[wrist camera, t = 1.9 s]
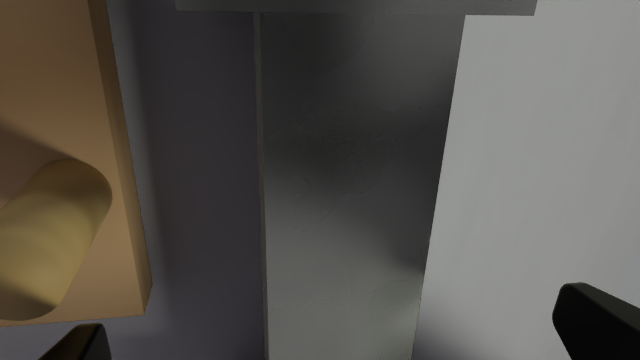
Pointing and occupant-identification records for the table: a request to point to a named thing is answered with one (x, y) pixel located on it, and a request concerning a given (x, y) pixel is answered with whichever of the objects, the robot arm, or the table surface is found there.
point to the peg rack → (65, 170)
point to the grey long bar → (350, 163)
